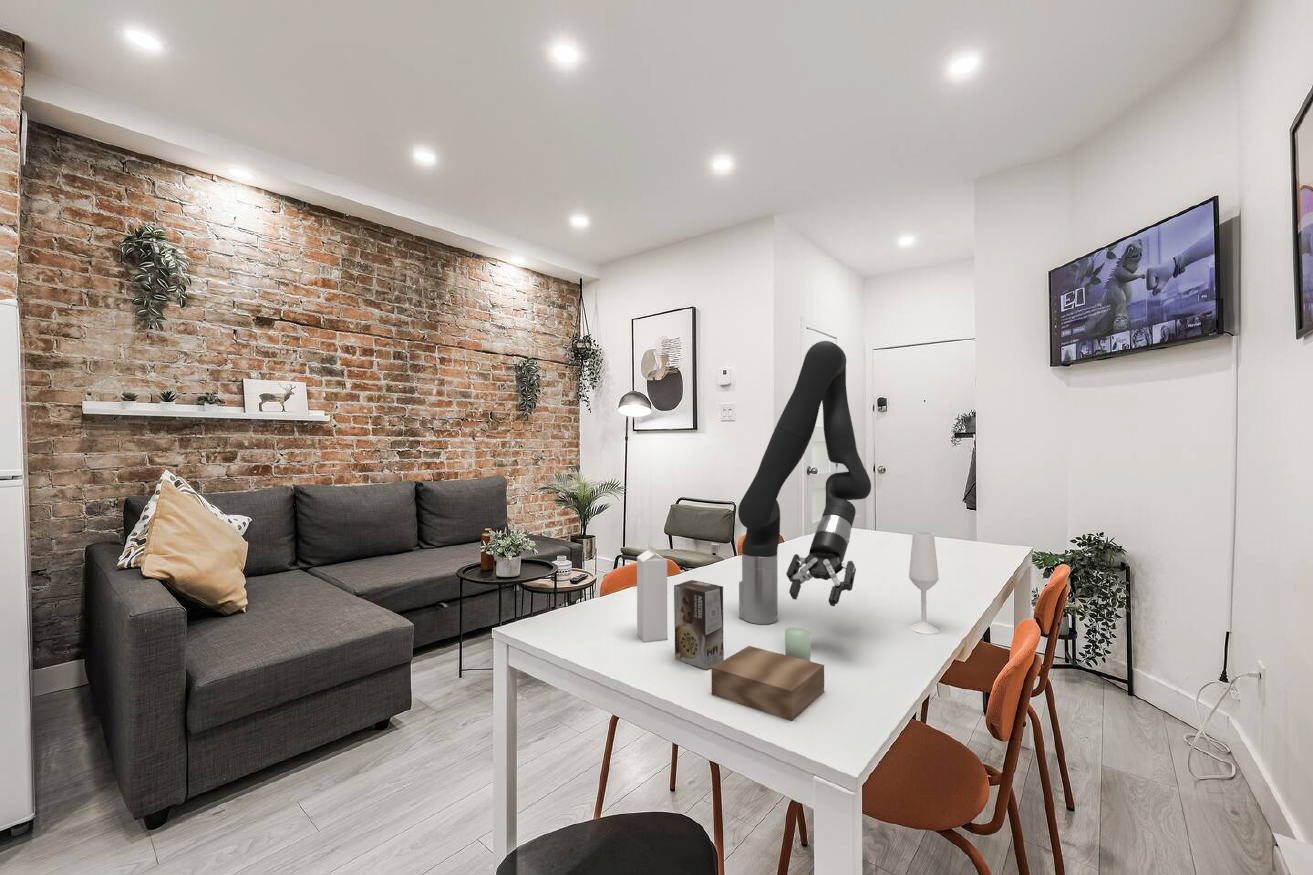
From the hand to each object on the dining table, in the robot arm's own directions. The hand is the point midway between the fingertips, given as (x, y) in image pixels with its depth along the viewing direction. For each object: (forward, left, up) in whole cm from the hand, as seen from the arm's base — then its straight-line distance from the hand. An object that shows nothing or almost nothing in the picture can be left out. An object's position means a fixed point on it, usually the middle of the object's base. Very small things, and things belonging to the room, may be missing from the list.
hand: (811, 600), depth 120 cm
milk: (-36, -10, -13) cm, 40 cm away
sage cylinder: (0, -7, -13) cm, 14 cm away
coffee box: (-19, -15, -13) cm, 27 cm away
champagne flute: (+14, +36, -13) cm, 41 cm away
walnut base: (0, -20, -13) cm, 24 cm away
